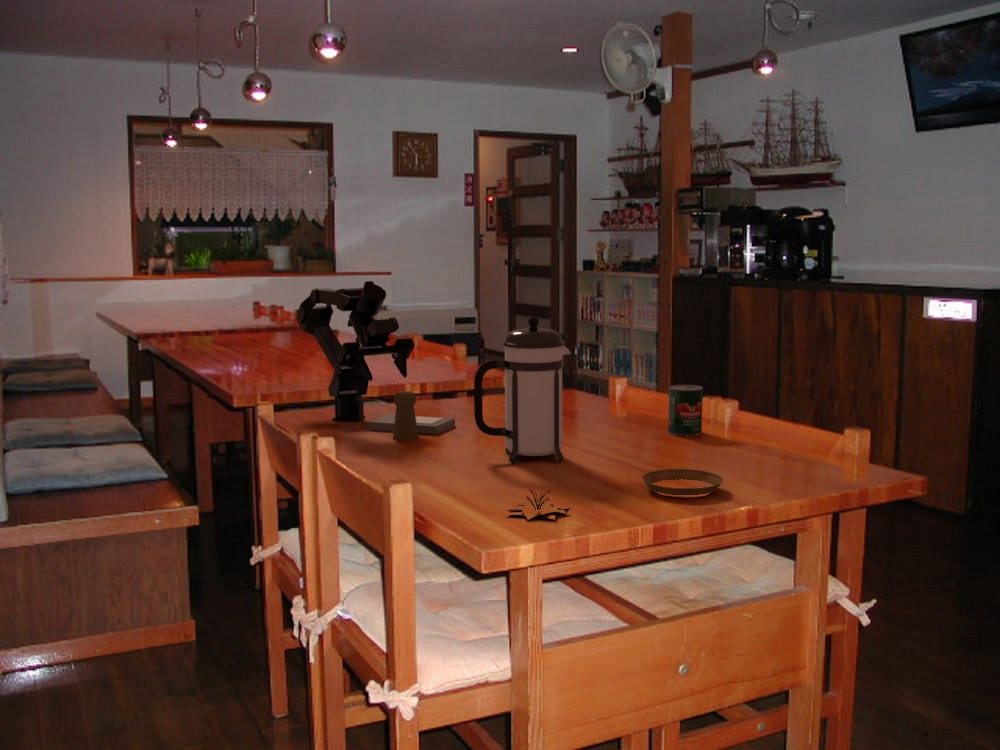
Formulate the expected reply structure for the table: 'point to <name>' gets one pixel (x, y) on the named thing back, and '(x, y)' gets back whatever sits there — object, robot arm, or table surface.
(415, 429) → the cork
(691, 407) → the canned tomato
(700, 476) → the plant saucer
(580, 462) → the table surface
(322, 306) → the robot arm
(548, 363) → the coffee press
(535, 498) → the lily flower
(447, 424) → the dock step
